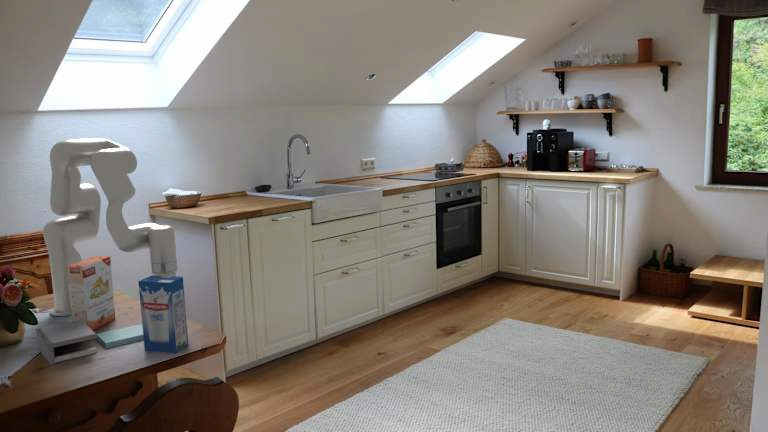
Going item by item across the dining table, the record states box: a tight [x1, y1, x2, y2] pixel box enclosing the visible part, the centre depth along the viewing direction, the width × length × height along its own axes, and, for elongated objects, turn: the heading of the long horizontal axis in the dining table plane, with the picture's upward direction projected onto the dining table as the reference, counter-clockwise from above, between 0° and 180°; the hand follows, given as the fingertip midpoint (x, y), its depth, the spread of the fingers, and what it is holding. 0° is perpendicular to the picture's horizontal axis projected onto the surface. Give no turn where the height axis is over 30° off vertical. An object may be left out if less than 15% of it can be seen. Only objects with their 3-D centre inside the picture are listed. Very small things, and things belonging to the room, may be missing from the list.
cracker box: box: [67, 255, 116, 332], centre depth 203 cm, size 14×6×21 cm, turn 168°
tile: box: [95, 323, 144, 349], centre depth 194 cm, size 10×16×2 cm, turn 128°
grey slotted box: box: [35, 320, 98, 365], centre depth 183 cm, size 16×12×6 cm
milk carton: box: [138, 274, 189, 354], centre depth 182 cm, size 10×6×20 cm, turn 75°
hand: (169, 324), depth 201 cm, fingers closed
